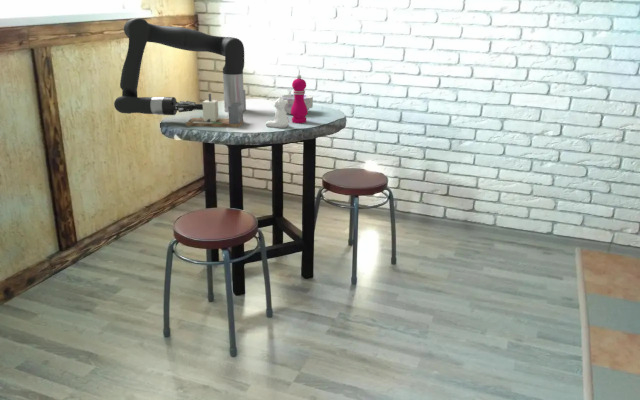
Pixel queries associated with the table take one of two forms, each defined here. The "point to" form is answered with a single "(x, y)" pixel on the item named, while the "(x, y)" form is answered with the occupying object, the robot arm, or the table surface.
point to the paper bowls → (290, 98)
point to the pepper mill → (299, 101)
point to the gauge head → (210, 110)
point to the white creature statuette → (279, 115)
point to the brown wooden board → (212, 123)
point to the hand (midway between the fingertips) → (204, 107)
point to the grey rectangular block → (235, 113)
